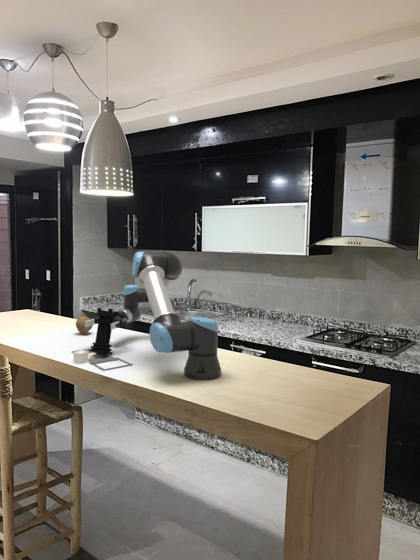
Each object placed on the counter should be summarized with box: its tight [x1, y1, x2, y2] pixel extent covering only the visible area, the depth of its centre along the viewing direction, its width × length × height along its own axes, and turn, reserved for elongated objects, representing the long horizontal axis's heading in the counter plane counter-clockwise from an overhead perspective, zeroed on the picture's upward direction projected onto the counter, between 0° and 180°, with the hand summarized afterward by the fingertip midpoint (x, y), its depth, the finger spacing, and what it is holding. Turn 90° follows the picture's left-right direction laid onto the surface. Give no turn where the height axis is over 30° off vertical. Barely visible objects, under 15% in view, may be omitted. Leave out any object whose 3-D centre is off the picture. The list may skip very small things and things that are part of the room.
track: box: [71, 347, 119, 365], centre depth 206 cm, size 24×11×1 cm, turn 40°
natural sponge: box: [75, 315, 93, 335], centre depth 250 cm, size 9×9×10 cm
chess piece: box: [88, 307, 118, 355], centre depth 207 cm, size 8×8×20 cm
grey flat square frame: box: [88, 357, 134, 372], centre depth 194 cm, size 14×14×1 cm
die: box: [72, 349, 89, 365], centre depth 196 cm, size 4×4×5 cm
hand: (98, 325), depth 209 cm, fingers open, 13 cm apart
